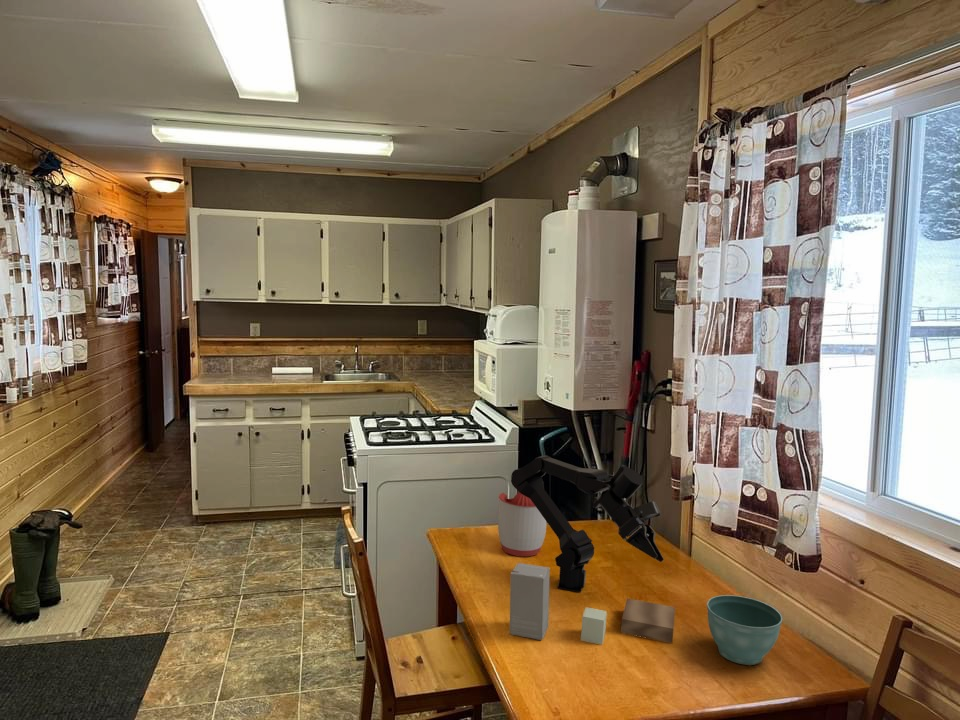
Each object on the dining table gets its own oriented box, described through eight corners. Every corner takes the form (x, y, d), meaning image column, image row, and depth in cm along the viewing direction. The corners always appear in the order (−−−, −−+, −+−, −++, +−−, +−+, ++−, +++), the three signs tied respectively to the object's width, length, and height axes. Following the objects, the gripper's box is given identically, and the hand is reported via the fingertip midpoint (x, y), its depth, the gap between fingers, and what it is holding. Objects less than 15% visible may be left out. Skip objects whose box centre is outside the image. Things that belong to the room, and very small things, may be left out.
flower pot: (688, 645, 161) (692, 601, 160) (735, 631, 169) (739, 589, 168) (744, 681, 147) (749, 633, 146) (793, 664, 155) (798, 619, 154)
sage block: (580, 640, 161) (582, 616, 160) (584, 630, 166) (585, 607, 165) (602, 645, 159) (604, 620, 159) (604, 635, 164) (606, 611, 163)
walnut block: (620, 634, 165) (622, 618, 165) (625, 613, 177) (627, 598, 176) (672, 644, 162) (673, 628, 161) (673, 622, 173) (675, 607, 173)
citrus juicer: (522, 536, 226) (526, 477, 224) (555, 555, 212) (560, 492, 210) (483, 543, 218) (486, 482, 216) (514, 563, 204) (518, 498, 201)
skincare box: (548, 629, 165) (552, 566, 163) (541, 643, 158) (545, 577, 157) (514, 622, 168) (518, 559, 166) (506, 635, 161) (510, 570, 159)
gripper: (635, 483, 169) (678, 533, 161) (649, 496, 185) (689, 542, 177) (601, 512, 170) (642, 564, 162) (617, 522, 186) (656, 570, 178)
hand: (659, 559), depth 170 cm, fingers open, 9 cm apart
